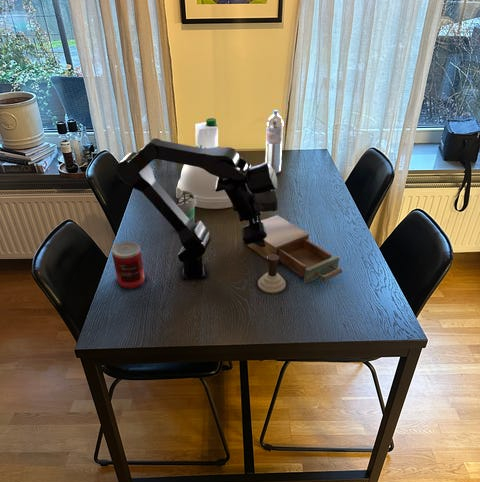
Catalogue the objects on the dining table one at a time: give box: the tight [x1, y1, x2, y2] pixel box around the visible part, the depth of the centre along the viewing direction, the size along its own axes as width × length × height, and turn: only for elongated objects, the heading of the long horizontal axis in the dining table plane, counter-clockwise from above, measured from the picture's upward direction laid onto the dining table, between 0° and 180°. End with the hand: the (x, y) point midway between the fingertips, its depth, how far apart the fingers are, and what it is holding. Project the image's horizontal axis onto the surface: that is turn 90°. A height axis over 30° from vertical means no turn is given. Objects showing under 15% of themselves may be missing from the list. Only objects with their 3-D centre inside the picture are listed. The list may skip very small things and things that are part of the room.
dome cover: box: [175, 164, 240, 210], centre depth 174 cm, size 32×30×14 cm
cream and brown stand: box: [257, 254, 287, 294], centre depth 127 cm, size 8×8×9 cm
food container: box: [175, 191, 196, 222], centre depth 153 cm, size 12×6×10 cm, turn 168°
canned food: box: [111, 241, 146, 289], centre depth 127 cm, size 8×8×11 cm
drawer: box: [277, 238, 343, 284], centre depth 134 cm, size 19×12×4 cm, turn 36°
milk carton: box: [194, 117, 219, 149], centre depth 190 cm, size 9×9×20 cm
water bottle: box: [264, 109, 285, 175], centre depth 186 cm, size 7×7×25 cm
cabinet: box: [246, 214, 310, 264], centre depth 144 cm, size 16×14×6 cm
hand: (261, 234), depth 129 cm, fingers open, 9 cm apart
